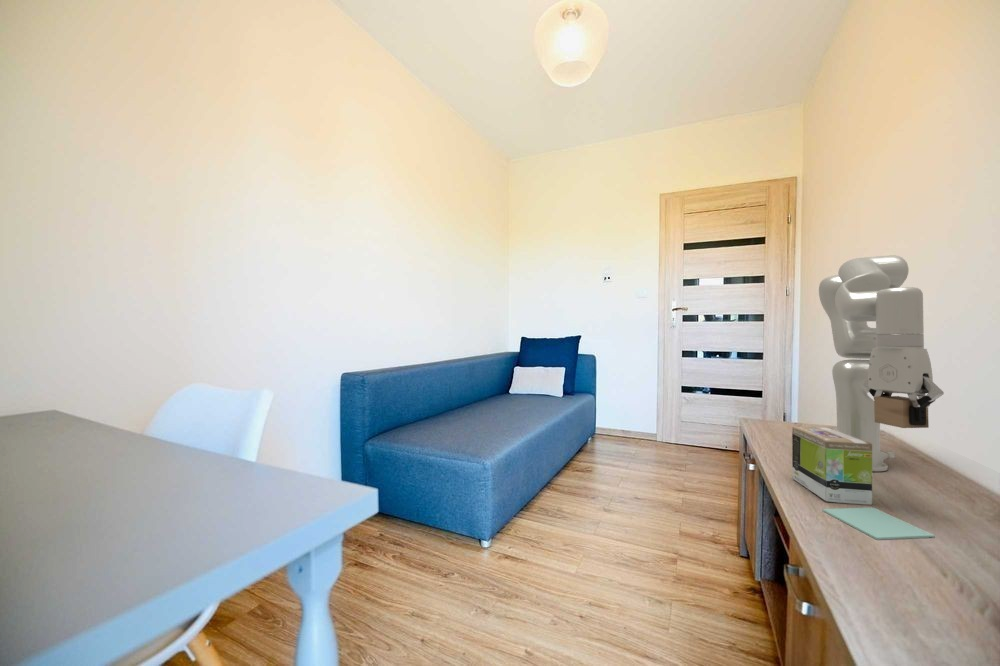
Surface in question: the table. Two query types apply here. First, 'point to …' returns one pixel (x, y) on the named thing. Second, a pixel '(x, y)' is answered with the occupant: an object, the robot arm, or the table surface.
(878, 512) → the teal pad
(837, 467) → the tea box
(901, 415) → the walnut cube
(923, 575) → the table surface
